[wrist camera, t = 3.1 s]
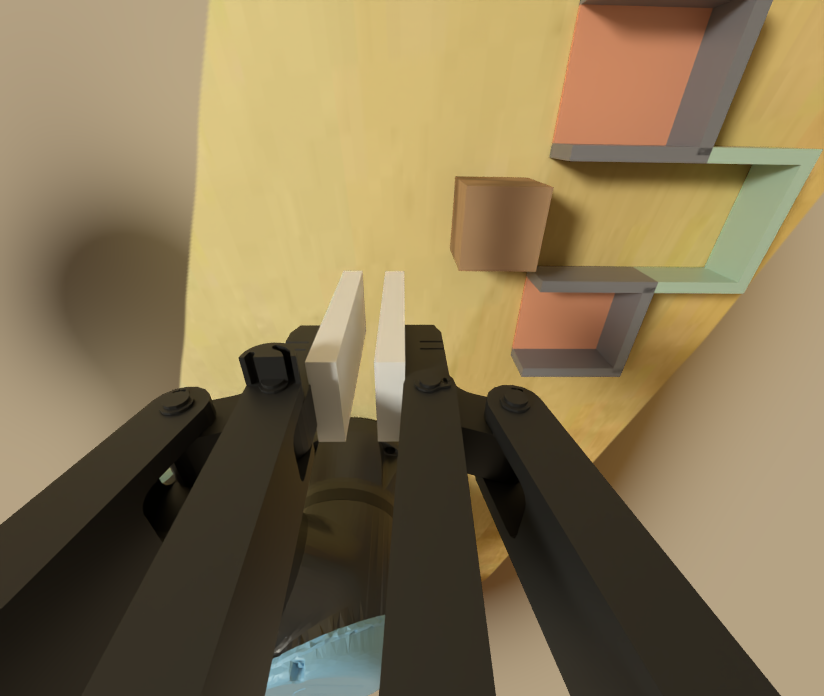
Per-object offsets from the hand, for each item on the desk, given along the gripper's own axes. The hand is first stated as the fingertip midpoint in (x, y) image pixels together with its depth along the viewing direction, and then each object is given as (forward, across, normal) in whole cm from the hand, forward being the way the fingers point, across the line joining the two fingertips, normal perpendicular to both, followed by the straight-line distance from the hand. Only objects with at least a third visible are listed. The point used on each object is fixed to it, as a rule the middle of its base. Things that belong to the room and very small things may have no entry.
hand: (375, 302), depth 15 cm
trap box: (+18, +22, 0) cm, 29 cm away
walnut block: (+19, +8, 0) cm, 20 cm away
